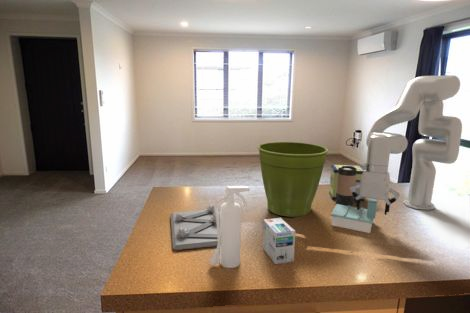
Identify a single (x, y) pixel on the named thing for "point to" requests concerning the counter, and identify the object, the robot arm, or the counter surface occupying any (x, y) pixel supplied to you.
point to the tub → (351, 224)
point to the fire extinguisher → (229, 228)
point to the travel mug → (345, 185)
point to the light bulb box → (279, 240)
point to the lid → (357, 212)
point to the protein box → (335, 175)
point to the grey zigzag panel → (194, 229)
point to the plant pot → (291, 175)
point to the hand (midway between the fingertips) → (371, 211)
